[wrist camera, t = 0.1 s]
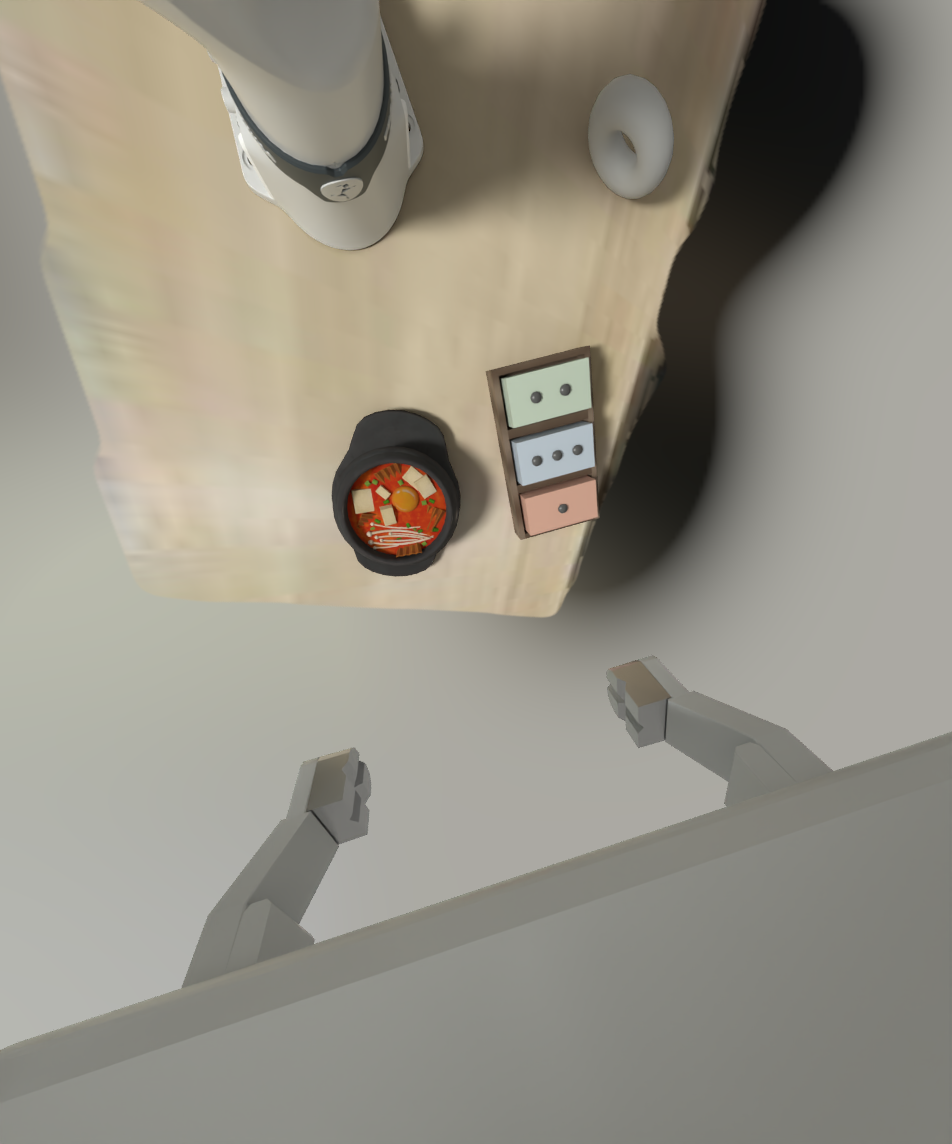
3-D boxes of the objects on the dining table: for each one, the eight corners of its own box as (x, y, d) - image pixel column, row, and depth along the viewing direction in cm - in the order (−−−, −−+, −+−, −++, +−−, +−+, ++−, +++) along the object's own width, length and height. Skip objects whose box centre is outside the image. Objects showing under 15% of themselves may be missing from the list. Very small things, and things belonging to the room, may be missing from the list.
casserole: (450, 573, 63) (456, 598, 56) (336, 568, 59) (327, 595, 52) (468, 418, 52) (478, 424, 45) (330, 399, 48) (317, 402, 41)
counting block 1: (499, 378, 49) (506, 378, 45) (577, 358, 49) (589, 357, 46) (507, 425, 51) (514, 428, 48) (581, 406, 52) (592, 407, 49)
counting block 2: (509, 440, 52) (516, 443, 49) (582, 421, 53) (593, 423, 50) (516, 480, 55) (523, 486, 52) (584, 461, 56) (595, 466, 53)
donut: (640, 193, 44) (699, 147, 35) (619, 221, 45) (672, 182, 36) (589, 107, 40) (642, 30, 31) (567, 139, 41) (612, 73, 32)
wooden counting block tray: (485, 371, 50) (491, 370, 47) (578, 347, 51) (589, 345, 47) (514, 532, 62) (520, 539, 59) (589, 511, 62) (599, 517, 59)
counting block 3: (518, 493, 56) (525, 499, 53) (585, 474, 57) (596, 480, 54) (524, 528, 59) (531, 536, 56) (588, 510, 60) (598, 517, 57)
